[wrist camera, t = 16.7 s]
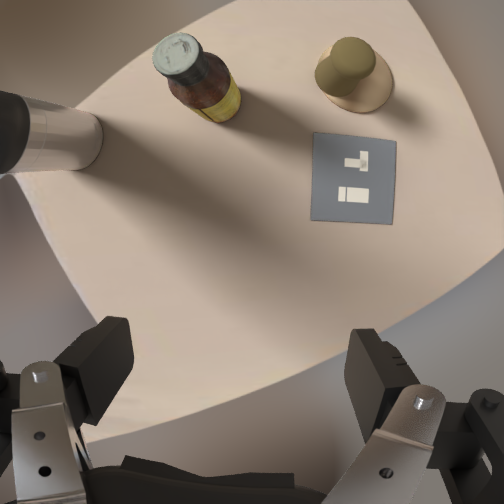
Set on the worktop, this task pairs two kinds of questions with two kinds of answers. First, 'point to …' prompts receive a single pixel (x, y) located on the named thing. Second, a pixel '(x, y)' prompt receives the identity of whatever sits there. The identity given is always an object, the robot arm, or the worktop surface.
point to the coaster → (366, 88)
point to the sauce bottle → (197, 77)
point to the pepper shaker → (345, 66)
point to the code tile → (352, 179)
